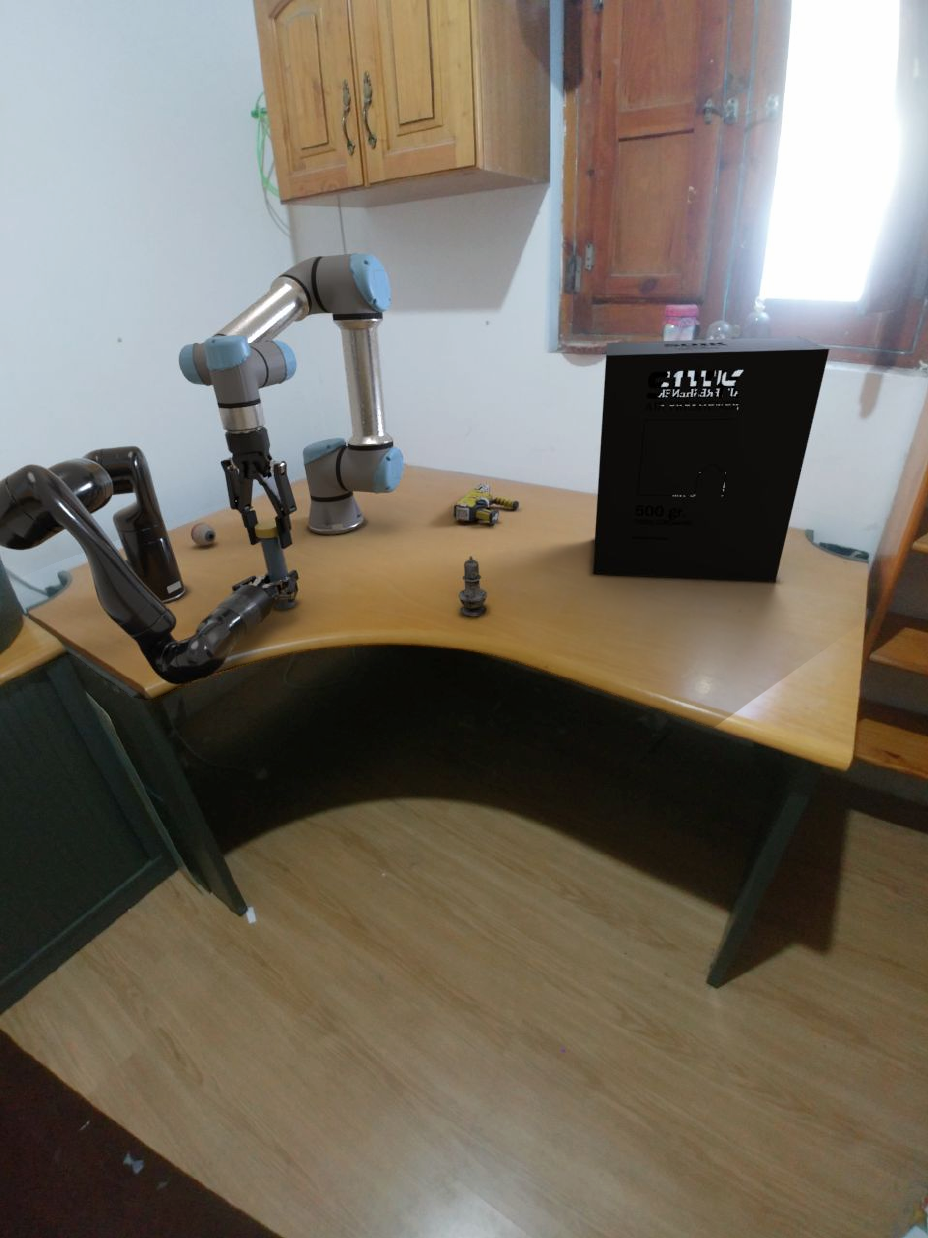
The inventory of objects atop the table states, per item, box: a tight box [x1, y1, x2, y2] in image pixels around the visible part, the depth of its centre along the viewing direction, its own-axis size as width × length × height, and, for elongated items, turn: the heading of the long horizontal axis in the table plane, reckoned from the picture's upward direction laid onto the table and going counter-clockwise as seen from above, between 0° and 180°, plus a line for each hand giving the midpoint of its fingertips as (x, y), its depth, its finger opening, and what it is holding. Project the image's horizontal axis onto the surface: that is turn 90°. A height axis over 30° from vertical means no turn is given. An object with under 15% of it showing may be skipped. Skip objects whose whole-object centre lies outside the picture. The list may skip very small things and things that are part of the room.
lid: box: [255, 520, 278, 538], centre depth 121 cm, size 5×5×2 cm
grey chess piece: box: [457, 555, 488, 617], centre depth 120 cm, size 6×6×12 cm
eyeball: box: [190, 522, 217, 547], centre depth 160 cm, size 6×6×6 cm
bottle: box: [259, 535, 296, 611], centre depth 125 cm, size 4×4×18 cm
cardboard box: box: [592, 336, 830, 583], centre depth 128 cm, size 38×20×45 cm, turn 78°
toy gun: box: [452, 482, 520, 526], centre depth 172 cm, size 5×24×15 cm
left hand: (285, 573), depth 128 cm, fingers closed on bottle, 4 cm apart
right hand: (271, 544), depth 122 cm, fingers open, 7 cm apart
